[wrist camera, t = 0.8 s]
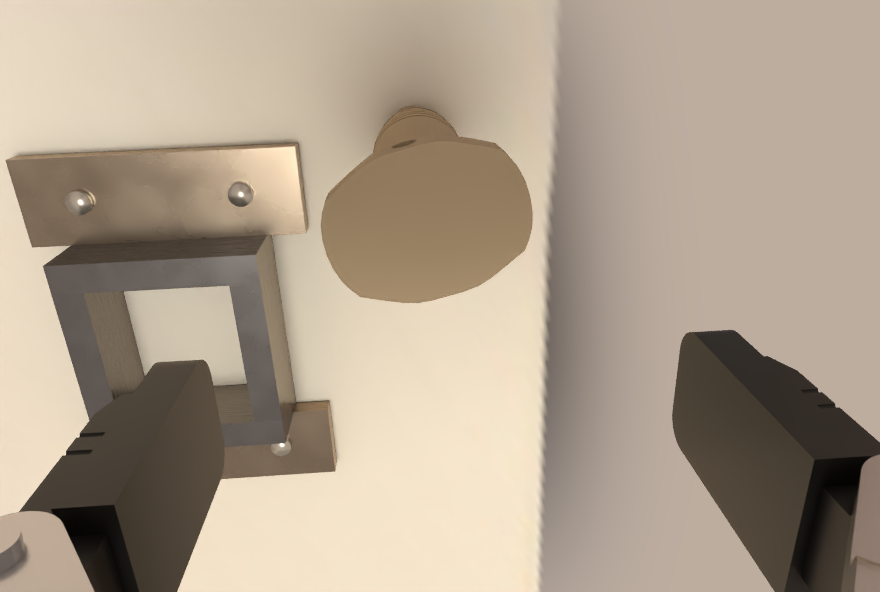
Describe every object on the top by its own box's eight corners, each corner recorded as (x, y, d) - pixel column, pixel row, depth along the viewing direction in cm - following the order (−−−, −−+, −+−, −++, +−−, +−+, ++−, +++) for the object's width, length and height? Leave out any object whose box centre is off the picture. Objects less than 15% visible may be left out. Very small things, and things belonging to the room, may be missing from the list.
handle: (486, 164, 34) (546, 268, 21) (370, 198, 35) (352, 323, 21) (463, 71, 32) (512, 117, 19) (340, 108, 33) (298, 180, 19)
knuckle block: (16, 155, 33) (-32, 174, 29) (297, 142, 33) (285, 159, 30) (111, 476, 41) (83, 521, 37) (336, 461, 41) (330, 505, 38)
